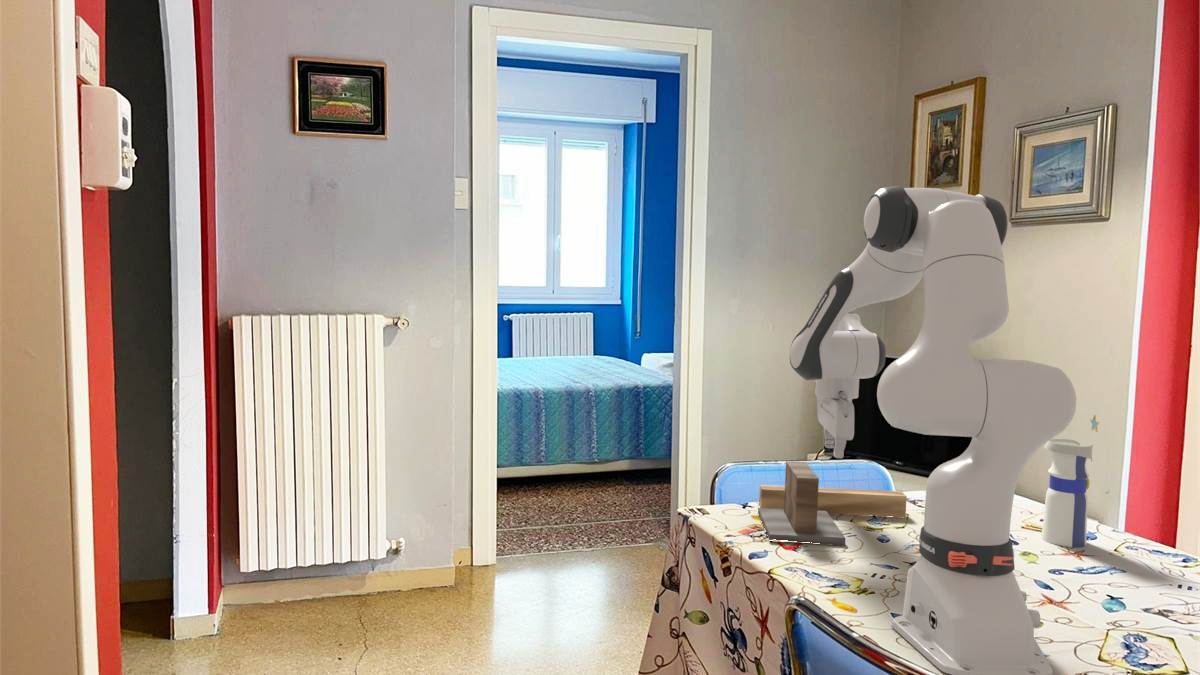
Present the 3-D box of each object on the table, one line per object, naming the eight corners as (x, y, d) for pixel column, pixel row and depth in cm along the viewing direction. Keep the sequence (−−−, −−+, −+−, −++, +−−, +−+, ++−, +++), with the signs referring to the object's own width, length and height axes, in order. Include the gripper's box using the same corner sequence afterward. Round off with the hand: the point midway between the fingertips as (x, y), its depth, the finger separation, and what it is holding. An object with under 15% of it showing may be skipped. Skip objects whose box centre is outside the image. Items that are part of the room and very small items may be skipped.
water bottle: (1063, 532, 169) (1071, 409, 167) (1098, 545, 160) (1108, 416, 159) (1029, 534, 167) (1037, 410, 165) (1063, 548, 158) (1072, 417, 156)
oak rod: (905, 519, 176) (906, 496, 176) (760, 512, 179) (761, 489, 178) (900, 514, 180) (901, 491, 180) (758, 507, 183) (759, 484, 182)
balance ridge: (845, 545, 157) (848, 482, 156) (769, 542, 157) (771, 479, 157) (825, 518, 174) (828, 461, 174) (757, 514, 175) (760, 458, 174)
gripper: (863, 396, 167) (860, 464, 168) (841, 382, 187) (838, 443, 188) (831, 395, 167) (828, 463, 169) (813, 381, 188) (810, 442, 189)
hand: (833, 452), depth 179 cm, fingers open, 8 cm apart
